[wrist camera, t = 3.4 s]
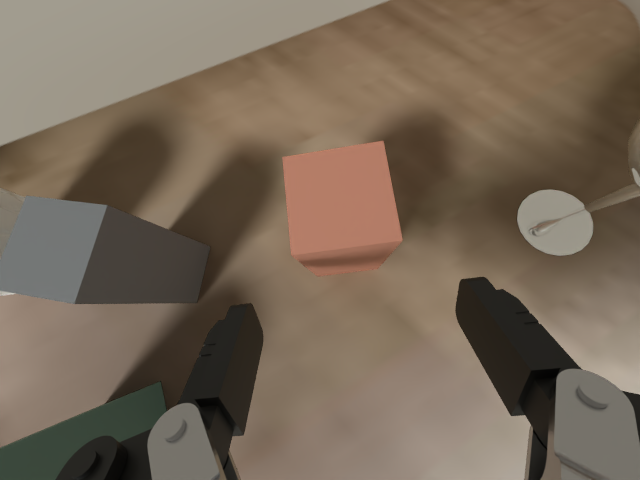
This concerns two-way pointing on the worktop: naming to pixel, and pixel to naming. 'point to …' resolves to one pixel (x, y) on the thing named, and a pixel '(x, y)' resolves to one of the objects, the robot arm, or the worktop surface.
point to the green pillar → (81, 434)
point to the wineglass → (572, 210)
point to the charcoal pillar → (98, 256)
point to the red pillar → (341, 209)
